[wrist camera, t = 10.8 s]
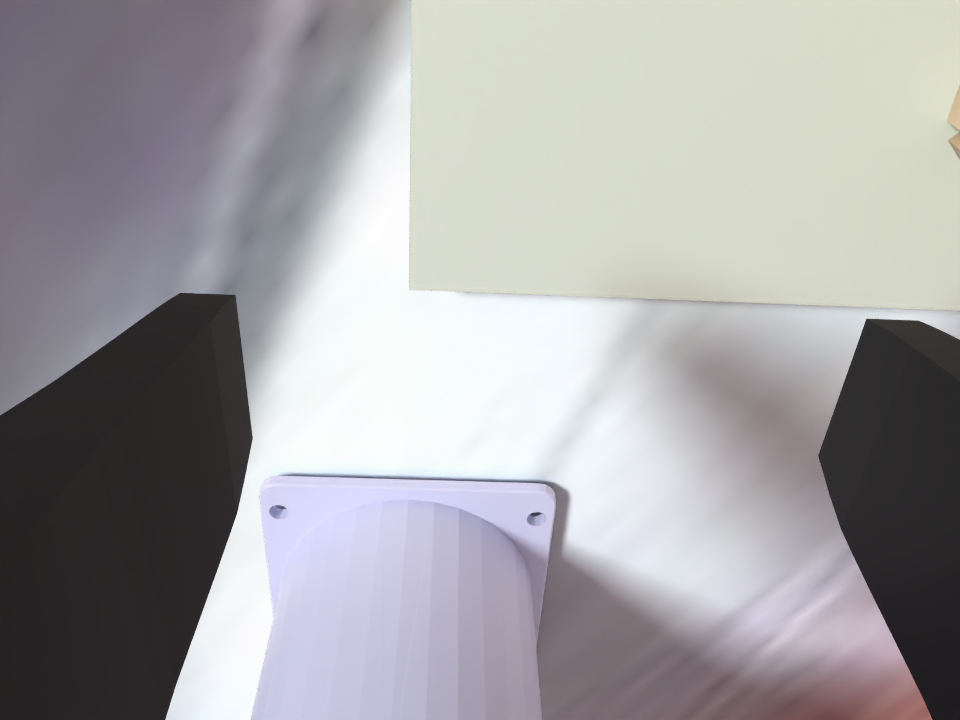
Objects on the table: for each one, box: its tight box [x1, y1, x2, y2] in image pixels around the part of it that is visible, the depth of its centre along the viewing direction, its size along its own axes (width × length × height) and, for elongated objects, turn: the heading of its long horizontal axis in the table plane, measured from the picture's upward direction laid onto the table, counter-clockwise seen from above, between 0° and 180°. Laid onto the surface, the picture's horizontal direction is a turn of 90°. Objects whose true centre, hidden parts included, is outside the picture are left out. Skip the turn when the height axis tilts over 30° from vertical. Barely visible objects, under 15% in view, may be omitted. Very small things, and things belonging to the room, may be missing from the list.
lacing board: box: [409, 0, 960, 311], centre depth 15 cm, size 10×17×6 cm, turn 87°
